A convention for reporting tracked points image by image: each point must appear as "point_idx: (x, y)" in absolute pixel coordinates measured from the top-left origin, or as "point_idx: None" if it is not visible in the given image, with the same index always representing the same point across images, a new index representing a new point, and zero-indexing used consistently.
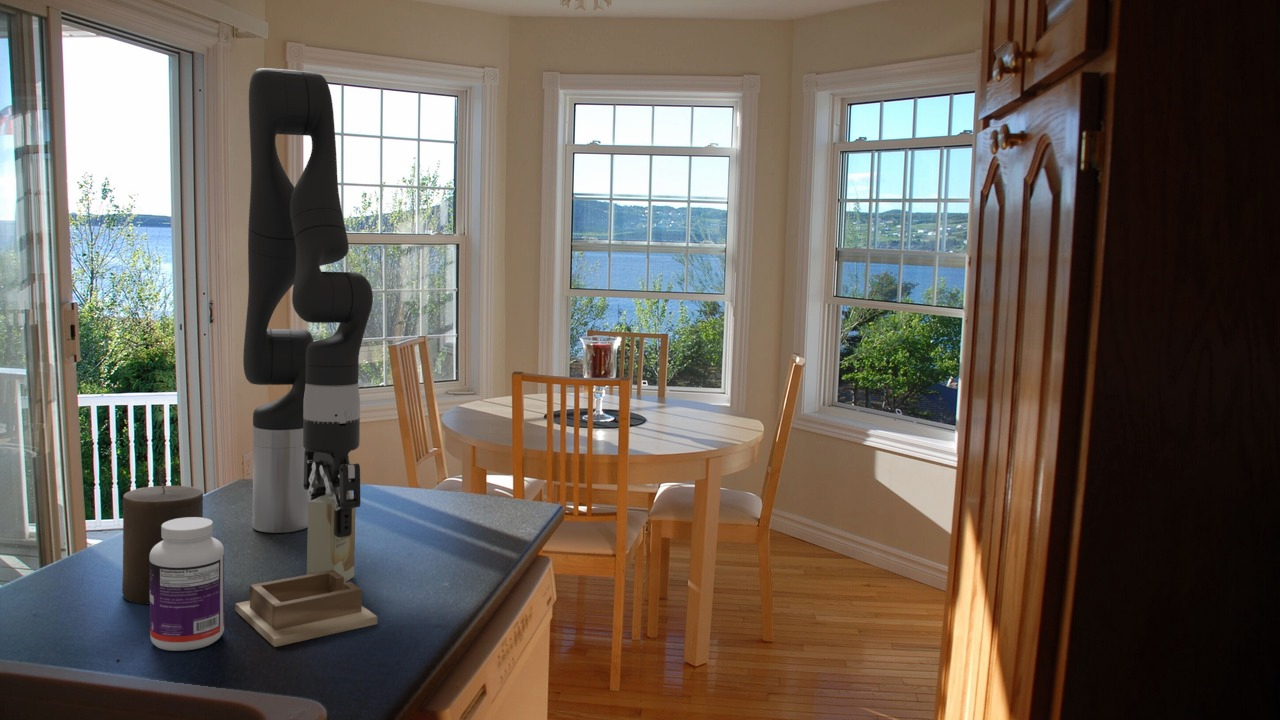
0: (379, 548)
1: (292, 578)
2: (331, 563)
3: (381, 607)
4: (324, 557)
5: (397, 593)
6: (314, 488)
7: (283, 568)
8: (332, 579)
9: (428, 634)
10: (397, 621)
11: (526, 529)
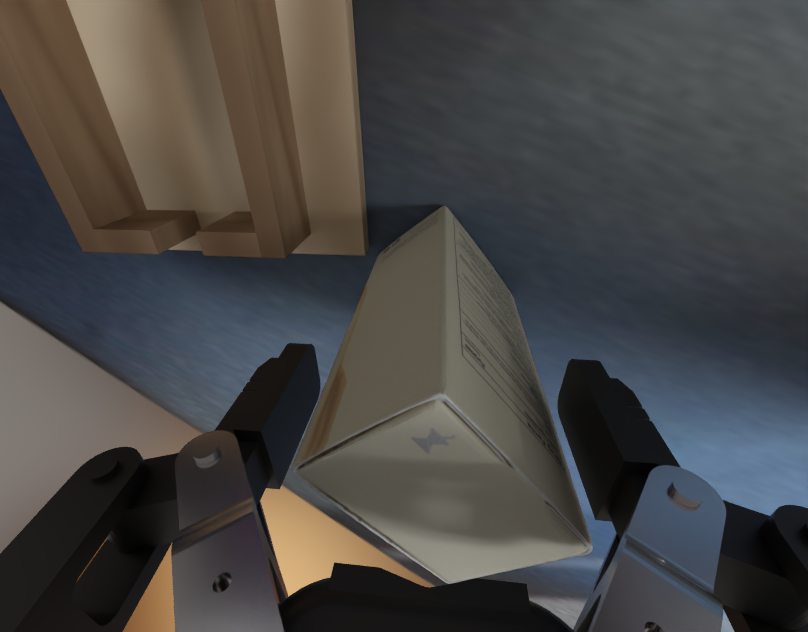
0: None
1: (239, 89)
2: (369, 284)
3: (219, 293)
4: (385, 278)
5: None
6: (623, 537)
7: (662, 212)
8: (235, 228)
9: (48, 297)
10: (127, 282)
11: None
